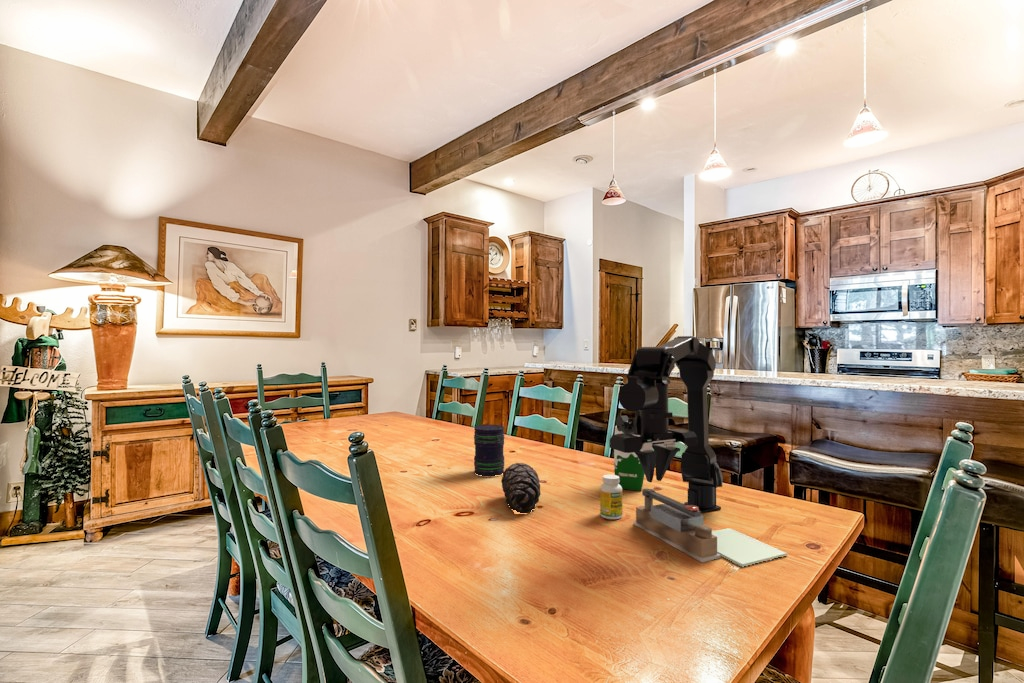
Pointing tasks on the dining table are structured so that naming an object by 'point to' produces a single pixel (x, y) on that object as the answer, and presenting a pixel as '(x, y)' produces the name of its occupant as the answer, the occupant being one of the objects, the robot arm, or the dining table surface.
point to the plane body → (679, 535)
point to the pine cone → (521, 487)
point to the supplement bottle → (611, 497)
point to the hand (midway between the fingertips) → (654, 481)
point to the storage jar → (489, 450)
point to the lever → (672, 503)
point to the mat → (743, 548)
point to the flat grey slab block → (675, 518)
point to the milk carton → (628, 468)
